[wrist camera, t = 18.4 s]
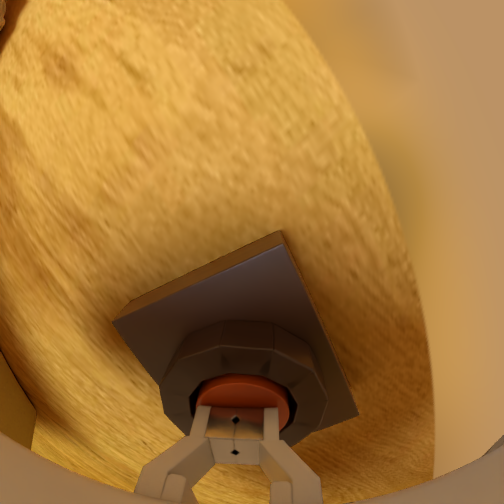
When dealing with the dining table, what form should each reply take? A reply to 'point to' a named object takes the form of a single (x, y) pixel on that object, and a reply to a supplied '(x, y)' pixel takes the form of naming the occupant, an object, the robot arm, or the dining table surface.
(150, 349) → the button block
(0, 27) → the seashell
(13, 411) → the flower pot
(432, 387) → the dining table surface
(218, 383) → the button
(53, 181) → the dining table surface
